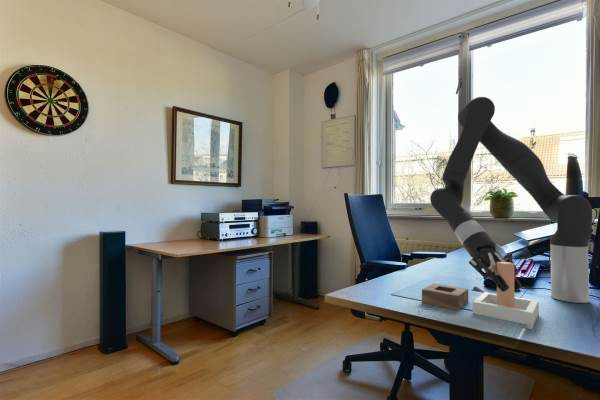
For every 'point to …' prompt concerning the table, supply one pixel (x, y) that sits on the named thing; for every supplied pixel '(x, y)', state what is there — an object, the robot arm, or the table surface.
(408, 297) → the table surface
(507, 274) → the tan rectangular block
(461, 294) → the socket block
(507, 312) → the tray
